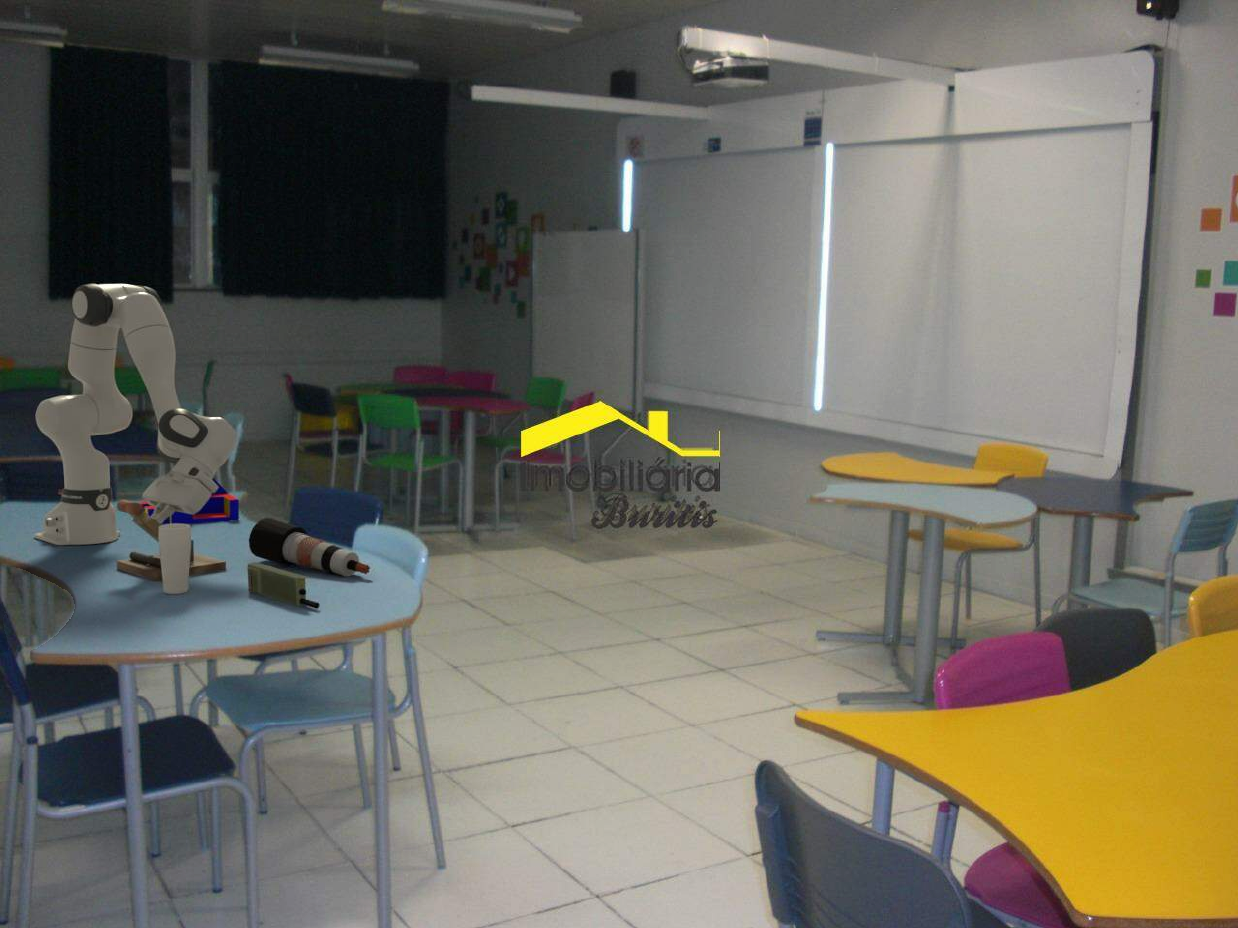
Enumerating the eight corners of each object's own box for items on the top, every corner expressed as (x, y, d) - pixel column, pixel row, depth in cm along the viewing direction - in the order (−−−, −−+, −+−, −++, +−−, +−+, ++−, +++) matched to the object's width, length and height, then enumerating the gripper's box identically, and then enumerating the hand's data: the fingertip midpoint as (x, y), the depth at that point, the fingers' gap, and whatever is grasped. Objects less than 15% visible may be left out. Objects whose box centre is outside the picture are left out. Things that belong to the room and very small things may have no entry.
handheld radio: (259, 589, 273) (324, 609, 257) (246, 592, 271) (311, 613, 255) (257, 561, 272) (323, 579, 256) (244, 563, 270) (310, 582, 254)
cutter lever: (181, 546, 295) (121, 497, 282) (197, 551, 291) (137, 501, 278) (173, 557, 294) (113, 508, 281) (189, 561, 290) (128, 512, 276)
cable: (358, 598, 285) (347, 565, 279) (255, 565, 301) (243, 533, 296) (385, 573, 292) (375, 540, 286) (283, 541, 308) (272, 510, 302)
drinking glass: (153, 594, 265) (152, 527, 263) (169, 587, 272) (167, 522, 270) (182, 596, 264) (181, 529, 262) (197, 589, 271) (196, 524, 269)
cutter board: (185, 558, 303) (184, 530, 302) (226, 569, 291) (225, 541, 290) (117, 568, 289) (116, 540, 288) (156, 581, 277) (156, 551, 277)
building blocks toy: (137, 516, 359) (136, 455, 357) (223, 511, 372) (222, 452, 370) (149, 527, 343) (148, 463, 341) (238, 521, 356) (238, 460, 354)
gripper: (158, 464, 296) (122, 508, 289) (205, 472, 283) (169, 518, 277) (175, 480, 300) (140, 524, 293) (222, 488, 287) (187, 535, 281)
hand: (154, 521), depth 285 cm, fingers closed, pressing on cutter lever
